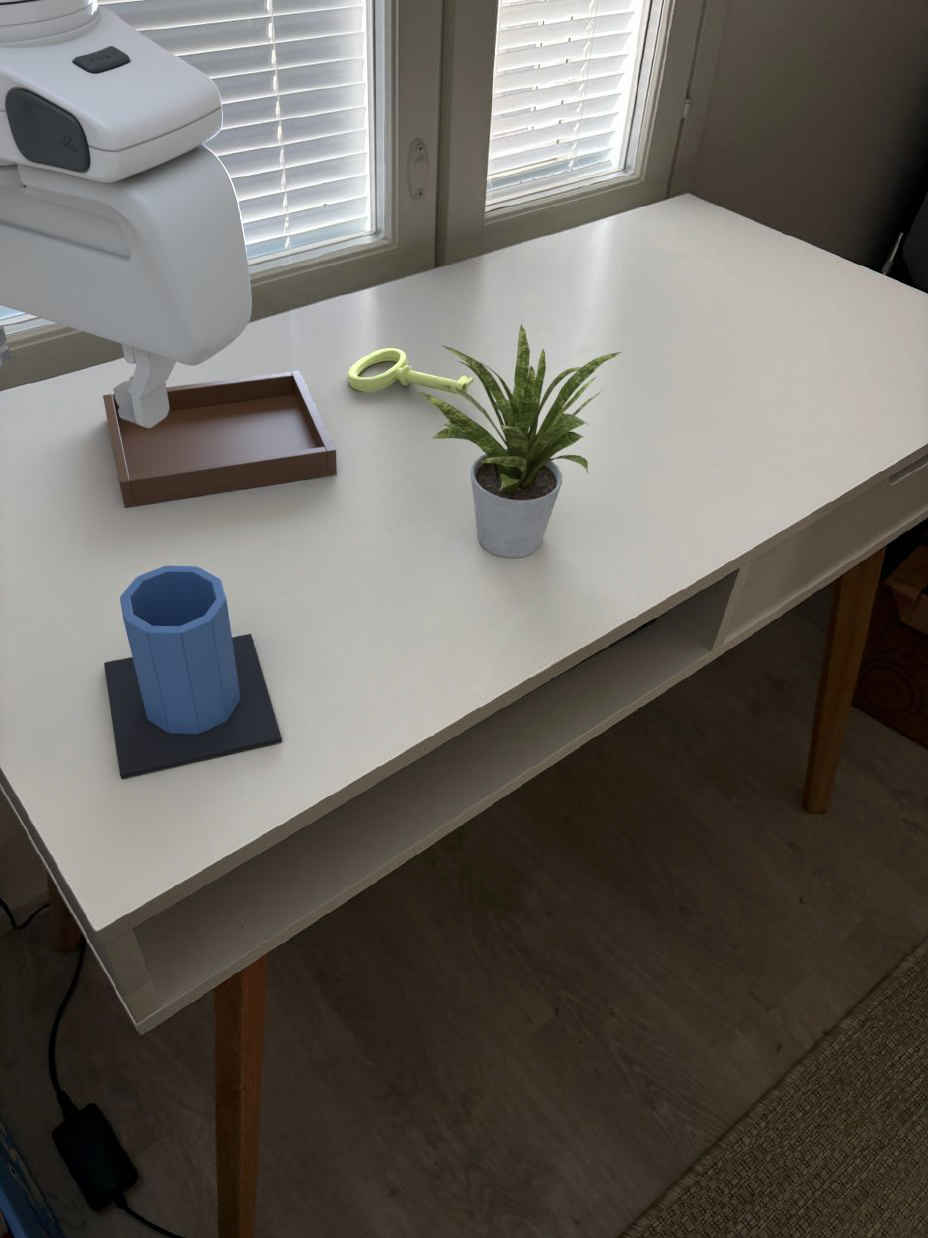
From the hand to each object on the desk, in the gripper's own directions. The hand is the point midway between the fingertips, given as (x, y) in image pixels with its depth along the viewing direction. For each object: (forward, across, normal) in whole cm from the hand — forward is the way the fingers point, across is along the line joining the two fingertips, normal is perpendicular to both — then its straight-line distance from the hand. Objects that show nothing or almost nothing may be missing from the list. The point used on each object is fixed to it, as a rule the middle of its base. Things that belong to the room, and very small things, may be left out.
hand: (64, 390), depth 47 cm
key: (+25, -7, +47) cm, 54 cm away
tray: (+25, -16, +29) cm, 41 cm away
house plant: (+25, +12, +32) cm, 42 cm away
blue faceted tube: (+25, +1, +4) cm, 25 cm away
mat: (+25, +1, +4) cm, 25 cm away
